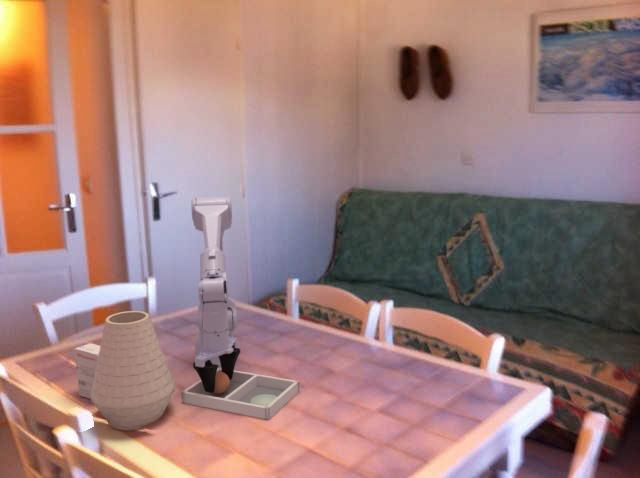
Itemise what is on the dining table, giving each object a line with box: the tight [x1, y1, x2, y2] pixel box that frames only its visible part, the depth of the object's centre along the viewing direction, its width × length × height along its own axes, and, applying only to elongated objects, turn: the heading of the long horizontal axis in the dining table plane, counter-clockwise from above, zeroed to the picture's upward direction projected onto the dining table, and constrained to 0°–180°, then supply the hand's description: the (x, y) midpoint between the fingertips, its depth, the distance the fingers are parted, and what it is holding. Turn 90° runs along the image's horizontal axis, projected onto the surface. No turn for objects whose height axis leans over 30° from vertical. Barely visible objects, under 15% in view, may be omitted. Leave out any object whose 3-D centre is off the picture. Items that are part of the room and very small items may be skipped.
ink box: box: [73, 342, 100, 400], centre depth 152 cm, size 9×5×12 cm, turn 58°
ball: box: [213, 372, 230, 394], centre depth 150 cm, size 5×5×5 cm
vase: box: [90, 310, 176, 432], centre depth 139 cm, size 17×17×23 cm
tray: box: [181, 367, 300, 421], centre depth 148 cm, size 22×15×4 cm
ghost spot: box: [250, 394, 277, 406], centre depth 146 cm, size 6×6×1 cm
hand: (218, 385), depth 150 cm, fingers open, 7 cm apart
